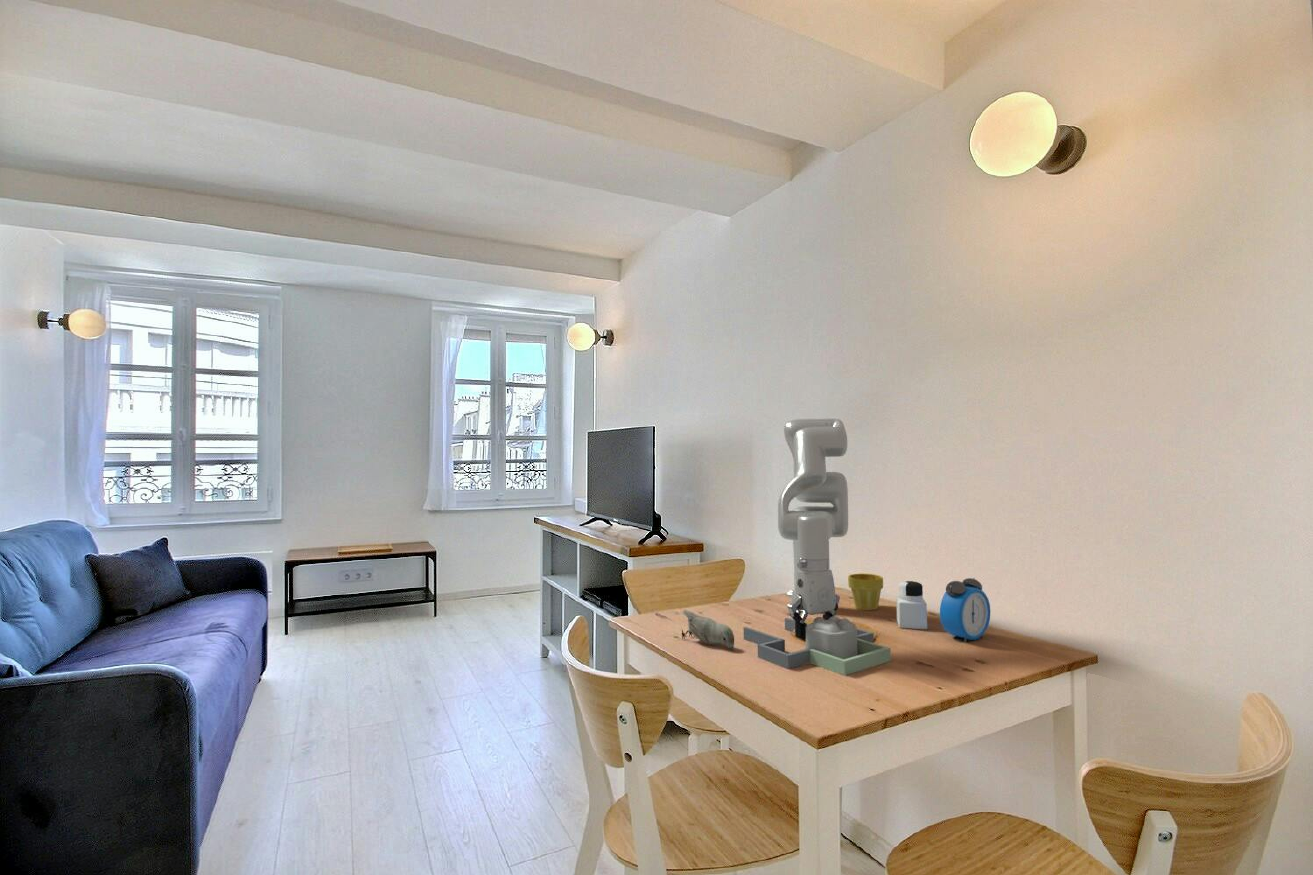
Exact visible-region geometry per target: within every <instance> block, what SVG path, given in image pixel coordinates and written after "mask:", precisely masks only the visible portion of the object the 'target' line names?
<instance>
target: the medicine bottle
mask: <svg viewBox="0 0 1313 875" xmlns="http://www.w3.org/2000/svg"><path fill="white" fill-rule="evenodd" d="M898 590H899V596H896V599H895V600H896V622H897V624H898V627H899V628H900V629H912V630H927V629H928V611H927V610H928V609H927V608H928V607H927V603H926V601H925V599H924V595H923V592H924V591H923V584H922V583H920V582H918V581H913V580H903V581H901V582H899V584H898Z"/></svg>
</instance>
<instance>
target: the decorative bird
mask: <svg viewBox="0 0 1313 875" xmlns="http://www.w3.org/2000/svg"><path fill="white" fill-rule="evenodd" d="M682 614H683V615H685V617H687V625H688V629H687V630H686V632H684V630H683V629H681V640H683V639H685V640H686V638H687V637H688V638H690V636H691V638H692V637H695V638H697V639H699V640H700V641H702V642H703V643H705V644H708V645H712V646H718V645H720V644H723V645H724V646H725V647H727V648H728V649H729V650H730V651H734V647H735V635H734V632H733V630H732V628H731V627H730V626H728V625H727V624H725V623H721V622H717V621H716V620H714V619H712V618H711V617H710V618H709V617H706V616H703V615H702V616H701V615H699V614H697V613H695V612H693V611H690V610H686V609H685V610H683V611H682ZM688 633H689V635H688V636H687V634H688Z"/></svg>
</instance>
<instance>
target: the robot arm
mask: <svg viewBox="0 0 1313 875" xmlns="http://www.w3.org/2000/svg"><path fill="white" fill-rule="evenodd" d="M783 434H784V438H785V441H786V445H787V446H788V448H789V451H790V452H791V454H792V459H793V478H792V479H791V480H789V482H787V484H786V485H785V486H784V488H783V489H782V491H781V493H780V494H779V495H780V496H779V498H778V499H779V500H778V502H777V503H778V504H777V506H778V508H777V511H778V512H777V527H778V532H779V535H780V536H781V537H782V538H783V539H784V540H790V541H792V546H793V576H794V577H793V579H794V580H793V581H794V584H793V588H794V589H790V590H789V592H787V593H786V596H787V597H788V598H792V599H791V600H792V601H790V602H789V603H788V604H787V609H788V612H789V616H790V617H791V619H793V621H795V632H794V633H795V635H794V636H795V638H797V639H801V640H804V641H806V626H807V624H808V623H807V622H806V620H807V618H808V616H809V615H811V616H812V615H813V616H814V615H818V614H822V618H823V619H825V620H829V618H831V617H832V616H837V610H838V608H839V603H840V599H841V596H840V595H838V594H836V587H835V579H834V575H833V574H834V573H833V570H832V569H831V567H830V539H831V538H842V537H845V536H846V535H847V534H848V531H849V494H848V493H849V489H848V482H847V479H846V478H847V477H845V475H844V474H843V473H841V472H838V471H827V465H826V463H827V462H826V458H827V457H828V458H830V457H835V458H836V457H837V458H838V457H843V456H845V455H846V453H847V451H848V435H847V431H846V428H845V424H844V422H843V421H842V420H841V419H840V418H839V419H838V418H802V419H800V418H799V419H793V420H789V421H787V422H786V423H785V424H784V426H783ZM795 498H796V500H798V501H799V502H800V503H806V504H807V503H809V504H814V503H815V504H818V503H819V504H820V503H822V504H824V503H825V504H826V503H827V504H831V506H827V505H826V506H819V505H814V506H811V505H804V506H798V507H795V508H794V509H793V510H789V507H790V503H791V501H793V499H795ZM806 623H807V624H806Z"/></svg>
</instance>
